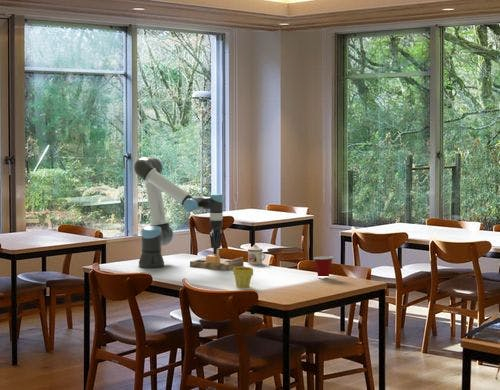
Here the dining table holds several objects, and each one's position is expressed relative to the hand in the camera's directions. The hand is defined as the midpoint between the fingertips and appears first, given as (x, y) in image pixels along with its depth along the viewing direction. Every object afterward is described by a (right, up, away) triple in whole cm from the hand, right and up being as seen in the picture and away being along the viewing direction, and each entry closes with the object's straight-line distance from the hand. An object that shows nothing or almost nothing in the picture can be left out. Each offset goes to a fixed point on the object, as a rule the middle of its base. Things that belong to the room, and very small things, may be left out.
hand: (215, 259), depth 546 cm
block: (-2, -2, -3) cm, 4 cm away
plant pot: (+17, -10, -64) cm, 67 cm away
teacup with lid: (+24, -4, +12) cm, 27 cm away
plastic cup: (+61, -8, -35) cm, 71 cm away
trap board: (0, -4, +1) cm, 5 cm away
